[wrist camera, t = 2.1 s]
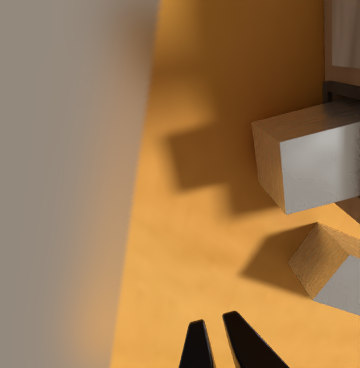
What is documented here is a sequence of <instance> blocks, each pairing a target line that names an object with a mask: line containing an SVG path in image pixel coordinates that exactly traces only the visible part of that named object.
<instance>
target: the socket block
mask: <svg viewBox="0 0 360 368" xmlns="http://www.w3.org/2000/svg"><path fill="white" fill-rule="evenodd" d="M324 36H325V81H324V82H323V104H324V103H328V102H332V101H336V100H340V99H344V98H348V97H350V98H354V99H358V100H360V0H324ZM334 203H335V204H336V205H338V206H339V207H340V208H341V209H342V210H344V211H345V212H346V213H347V214H348V215H350V216H351V217H352V218H353V219H354V220H356V221H357V222H358V223H359V224H360V196H357V197H353V198H349V199H345V200H342V201H338V202H334Z"/></svg>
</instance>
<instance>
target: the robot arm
mask: <svg viewBox="0 0 360 368" xmlns="http://www.w3.org/2000/svg"><path fill="white" fill-rule="evenodd" d="M222 317H223V322H224V326H225V330H226V335H227V339H228V342H229V346H230V349H231V353H232V356H233V360H234V363H235V367H236V368H289V367H288V366H287V364H286V363H285V362H284V361H283V360H282V359H281V358H280V357H279V356H278V355H277V354H276V353H275V352H274V351H273V349H272V348H271V347H270V346H269V345H268V344H267V343H266V342H265V341H264V340H263V339H262V338H261V337H260V335H259V334H258V333H257V332H256V331H255V330H254V329H253V328H252V327H251V326H250V325H249V324H248V323H247V322H246V320H245V319H244V318H243V317H242V316H241V315H240V314H239V313H238V312H237V311H231V312H227V313H224V314H223V315H222ZM179 368H216V365H215V361H214V357H213V352H212V348H211V344H210V340H209V337H208V333H207V329H206V325H205V322H204V320H202V319H201V320H197V321H193V322H191V323H190V324H189V326H188V330H187V335H186V339H185V343H184V348H183V352H182V356H181V360H180V365H179Z"/></svg>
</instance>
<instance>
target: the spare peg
mask: <svg viewBox="0 0 360 368" xmlns="http://www.w3.org/2000/svg"><path fill="white" fill-rule="evenodd" d="M288 265H289V266H290V268H291V269H292V270H293V272H294V273H295V275H296V276H297V278H298V279H299V281H300V282H301V284H302V285H303V287H304V288H305V290H306V291H307V293H308V294H309V296H310V297H311V299H312V300H313V301H316V302H319V303H322V304H325V305H328V306H331V307H335V308H338V309H341V310H344V311H347V312H350V313H353V314H356V315H360V240H359V239H357V238H355V237H352V236H350V235H348V234H345V233H343V232H340V231H338V230H336V229H333V228H331V227H328V226H326V225H324V224H321V223H319V222H317V223H316V224H315V226H314V227H313V229H312V230H311V231H310V233H309V234H308V235H307V237H306V238H305V240H304V241H303V242H302V244H301V245H300V246H299V248H298V249H297V250H296V252H295V253H294V255H293V256H292V257H291V259H290V260H289V261H288Z"/></svg>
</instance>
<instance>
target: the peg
mask: <svg viewBox="0 0 360 368" xmlns="http://www.w3.org/2000/svg"><path fill="white" fill-rule="evenodd" d="M251 123H252V131H253V140H254V148H255V156H256V164H257V172H258V180H259V184H260V185H261V186H262V187H263V188H264V190H265V191H266V192H267V193H268V194H269V195H270V197H271V198H272V199H273V200H274V201H275V203H276V204H277V205H278V206H279V207H280V208H281V210H282V211H283V212H284V213H285V214H286V215H287V214H291V213H295V212H299V211H303V210H307V209H311V208H314V207H318V206H322V205H326V204H330V203H334V202H338V201H342V200H345V199H349V198H353V197H357V196H360V100H358V99H354V98H350V97H348V98H344V99H340V100H336V101H332V102H328V103H324V104H320V105H316V106H313V107H309V108H305V109H301V110H297V111H293V112H289V113H285V114H281V115H277V116H273V117H269V118H265V119H261V120H258V121H254V122H251Z"/></svg>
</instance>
